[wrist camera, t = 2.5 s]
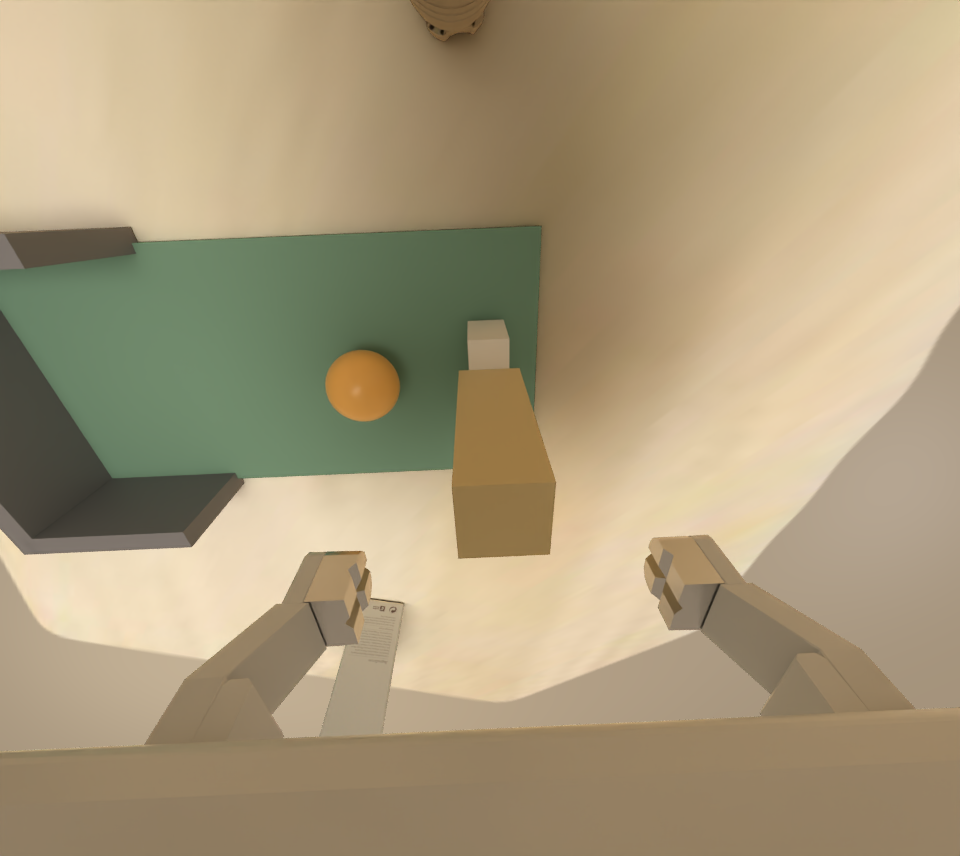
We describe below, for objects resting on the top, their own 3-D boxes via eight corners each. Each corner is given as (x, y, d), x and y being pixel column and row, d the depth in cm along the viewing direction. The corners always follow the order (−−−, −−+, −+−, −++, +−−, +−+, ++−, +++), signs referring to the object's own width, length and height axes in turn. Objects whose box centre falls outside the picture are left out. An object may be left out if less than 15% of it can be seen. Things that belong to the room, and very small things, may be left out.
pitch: (-62, 250, 19) (-72, 251, 19) (540, 225, 19) (541, 226, 19) (98, 481, 27) (93, 485, 27) (530, 462, 27) (531, 465, 27)
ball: (331, 341, 22) (305, 366, 18) (399, 338, 22) (386, 363, 18) (345, 403, 24) (324, 436, 20) (408, 400, 24) (398, 433, 20)
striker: (458, 321, 21) (447, 442, 10) (512, 318, 21) (559, 437, 10) (464, 416, 24) (461, 588, 13) (511, 414, 24) (547, 584, 13)
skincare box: (358, 595, 34) (309, 764, 24) (405, 602, 35) (378, 769, 24) (352, 634, 37) (307, 799, 27) (396, 639, 38) (368, 803, 27)
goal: (-65, 234, 19) (-265, 244, 14) (130, 227, 19) (3, 233, 14) (108, 488, 27) (24, 554, 22) (244, 482, 27) (191, 547, 22)
